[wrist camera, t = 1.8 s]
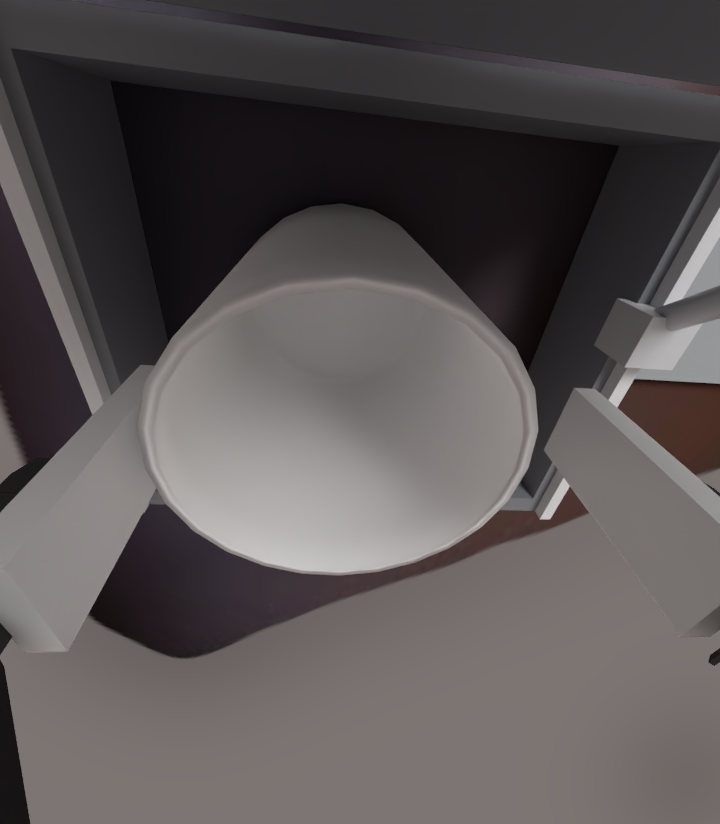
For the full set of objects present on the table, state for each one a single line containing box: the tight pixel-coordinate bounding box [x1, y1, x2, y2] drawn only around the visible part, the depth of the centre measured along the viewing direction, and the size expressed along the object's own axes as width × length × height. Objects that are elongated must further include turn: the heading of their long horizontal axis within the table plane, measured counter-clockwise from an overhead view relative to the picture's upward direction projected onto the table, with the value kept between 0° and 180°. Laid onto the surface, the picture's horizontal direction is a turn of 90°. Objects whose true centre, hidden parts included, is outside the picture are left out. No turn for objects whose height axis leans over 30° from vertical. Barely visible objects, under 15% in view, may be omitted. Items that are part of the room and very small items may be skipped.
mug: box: [137, 204, 538, 575], centre depth 14 cm, size 10×12×12 cm
